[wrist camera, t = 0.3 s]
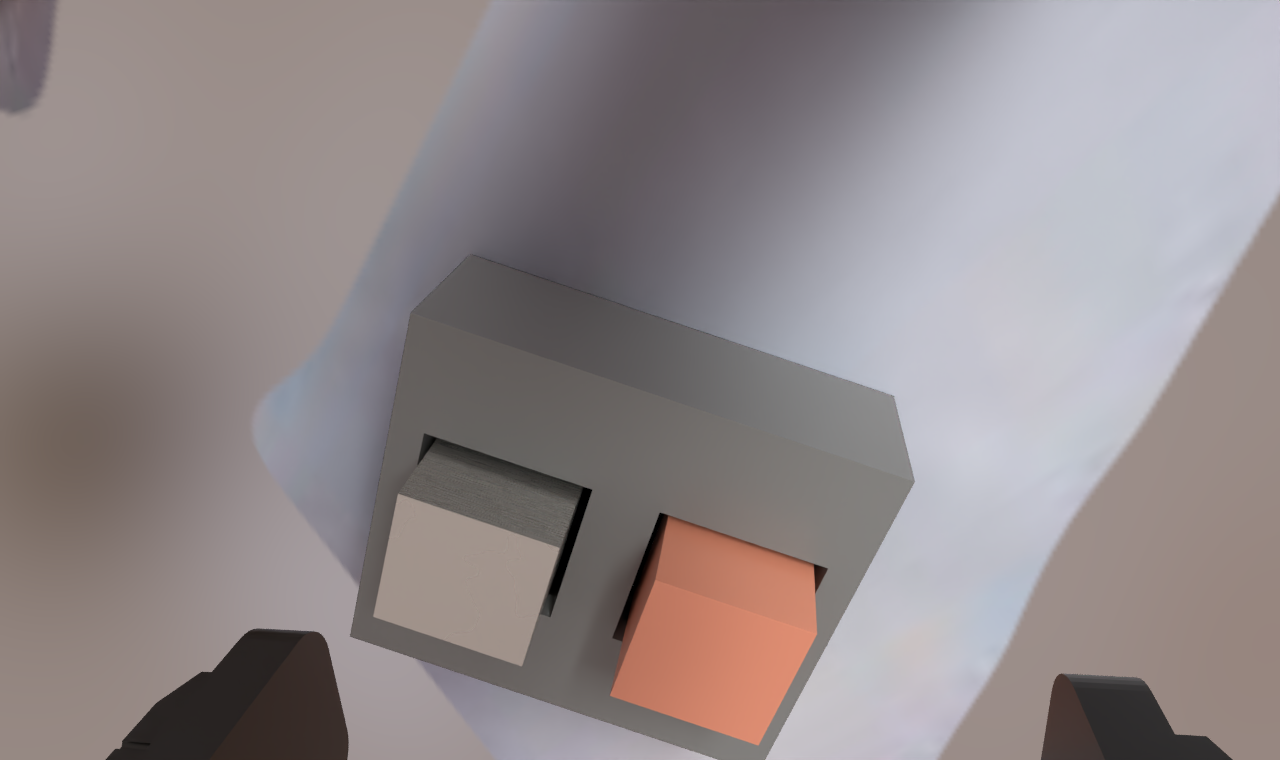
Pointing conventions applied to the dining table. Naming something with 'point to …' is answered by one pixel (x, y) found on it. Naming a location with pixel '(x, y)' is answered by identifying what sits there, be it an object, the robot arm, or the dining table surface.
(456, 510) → the plug
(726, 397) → the grey plug holder
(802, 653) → the orange cube
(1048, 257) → the dining table surface
